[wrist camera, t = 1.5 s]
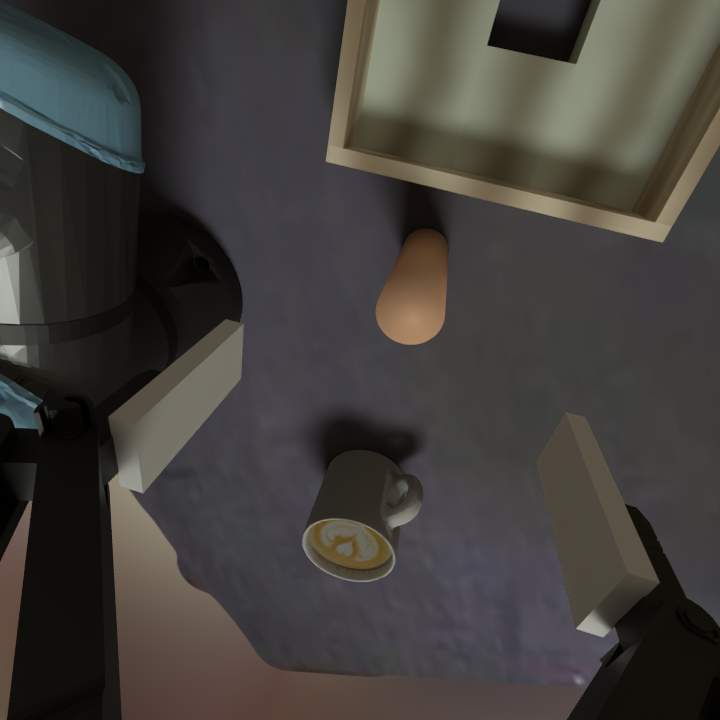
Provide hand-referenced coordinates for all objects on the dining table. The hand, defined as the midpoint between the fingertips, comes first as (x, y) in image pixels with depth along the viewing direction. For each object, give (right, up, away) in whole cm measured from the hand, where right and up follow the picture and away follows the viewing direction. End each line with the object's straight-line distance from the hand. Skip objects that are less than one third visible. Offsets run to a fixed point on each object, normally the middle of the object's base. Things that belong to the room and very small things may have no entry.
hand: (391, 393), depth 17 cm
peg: (+4, +11, +19) cm, 22 cm away
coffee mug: (+1, -13, +34) cm, 36 cm away
